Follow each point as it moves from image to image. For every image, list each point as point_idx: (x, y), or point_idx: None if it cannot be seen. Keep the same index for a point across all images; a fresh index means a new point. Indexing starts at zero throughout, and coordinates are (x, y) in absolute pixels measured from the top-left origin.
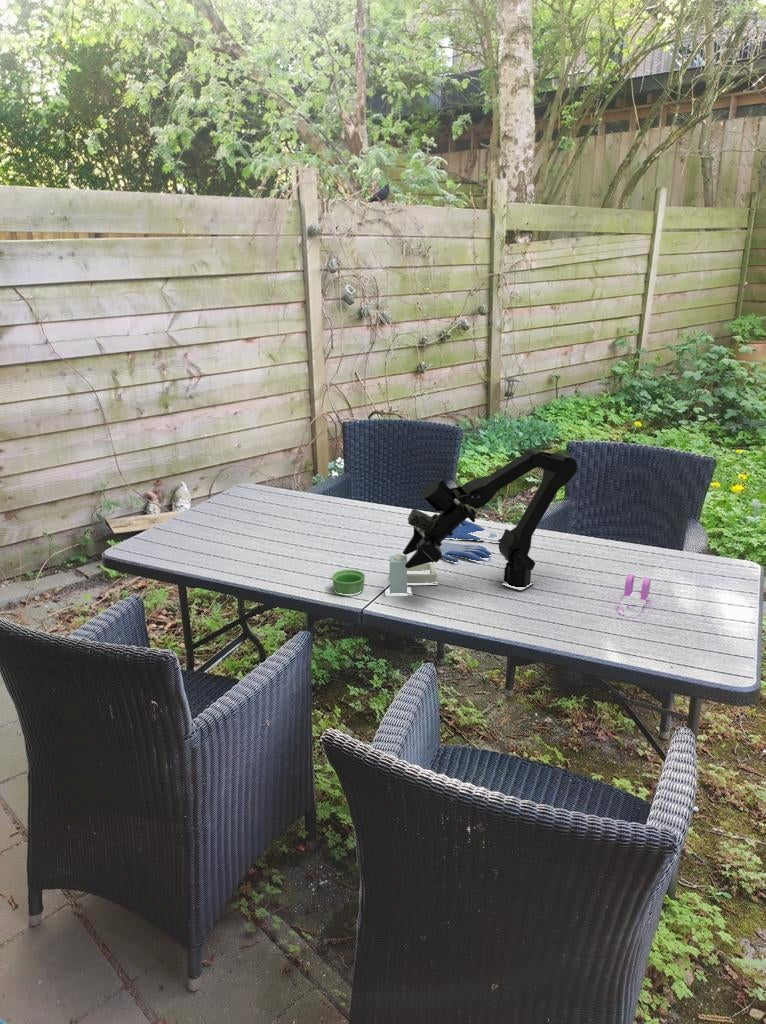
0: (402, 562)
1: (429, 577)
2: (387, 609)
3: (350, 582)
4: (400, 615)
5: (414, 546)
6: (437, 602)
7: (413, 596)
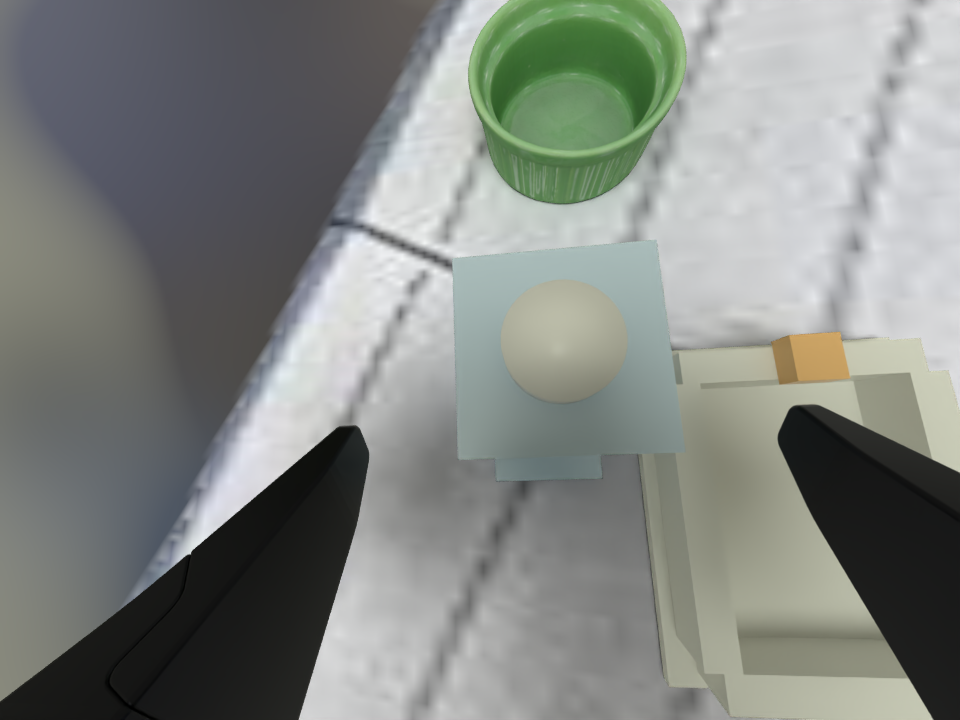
0: (458, 397)
1: (692, 634)
2: (343, 339)
3: (637, 124)
4: (276, 404)
5: (942, 629)
6: (413, 632)
7: (495, 484)
